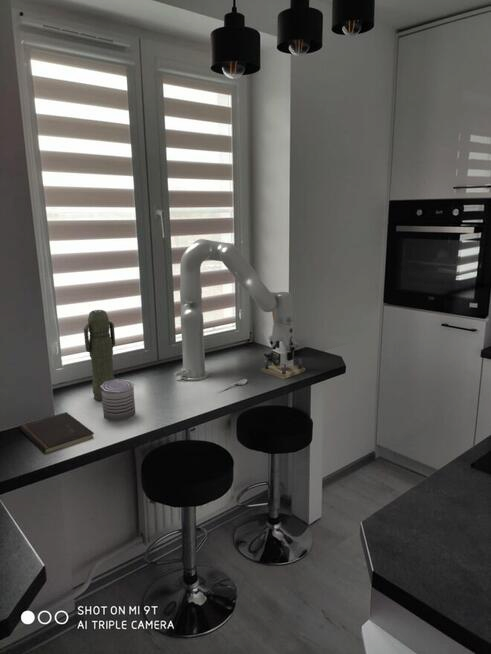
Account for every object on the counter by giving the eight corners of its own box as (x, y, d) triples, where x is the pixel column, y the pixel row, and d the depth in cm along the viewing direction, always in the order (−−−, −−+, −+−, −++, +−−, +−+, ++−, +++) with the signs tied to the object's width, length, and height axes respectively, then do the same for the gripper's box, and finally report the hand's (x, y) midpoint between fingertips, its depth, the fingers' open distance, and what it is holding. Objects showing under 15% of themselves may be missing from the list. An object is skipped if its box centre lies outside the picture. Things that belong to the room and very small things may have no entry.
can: (126, 406, 186) (124, 376, 183) (141, 415, 177) (139, 384, 174) (98, 415, 178) (95, 384, 175) (112, 424, 170) (109, 392, 167)
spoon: (250, 383, 209) (250, 380, 208) (214, 397, 194) (213, 393, 194) (243, 381, 211) (243, 377, 211) (207, 394, 197) (207, 390, 197)
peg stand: (284, 378, 212) (284, 366, 211) (261, 371, 222) (261, 360, 221) (305, 371, 222) (305, 359, 220) (282, 364, 232) (282, 353, 230)
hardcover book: (67, 417, 178) (66, 411, 177) (94, 439, 161) (93, 432, 160) (21, 431, 167) (20, 425, 167) (45, 455, 151) (44, 448, 150)
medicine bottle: (271, 364, 223) (271, 338, 220) (284, 362, 226) (285, 336, 223) (280, 368, 217) (280, 342, 214) (293, 366, 220) (294, 340, 217)
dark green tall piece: (124, 395, 197) (117, 309, 189) (99, 404, 188) (91, 315, 180) (111, 390, 202) (103, 307, 194) (86, 399, 193) (77, 312, 185)
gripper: (303, 321, 213) (303, 360, 217) (274, 315, 225) (274, 352, 229) (292, 324, 208) (291, 364, 212) (262, 318, 220) (263, 355, 224)
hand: (282, 357), depth 220 cm, fingers closed on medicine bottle, 8 cm apart
